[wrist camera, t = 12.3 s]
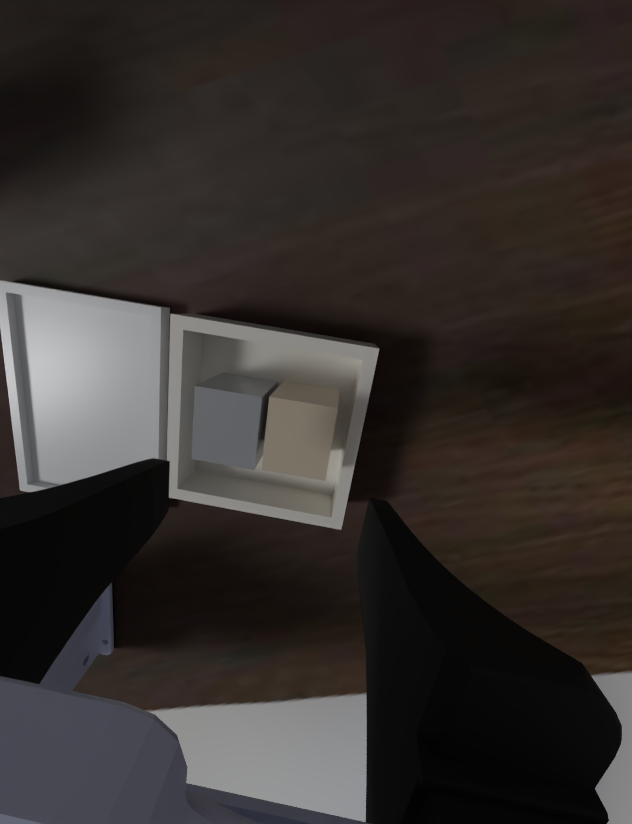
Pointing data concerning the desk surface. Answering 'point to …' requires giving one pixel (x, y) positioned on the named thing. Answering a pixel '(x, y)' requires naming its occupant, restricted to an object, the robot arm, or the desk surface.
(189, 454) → the dish
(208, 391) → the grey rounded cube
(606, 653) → the desk surface
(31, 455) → the parts tray
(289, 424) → the taupe rectangular block
